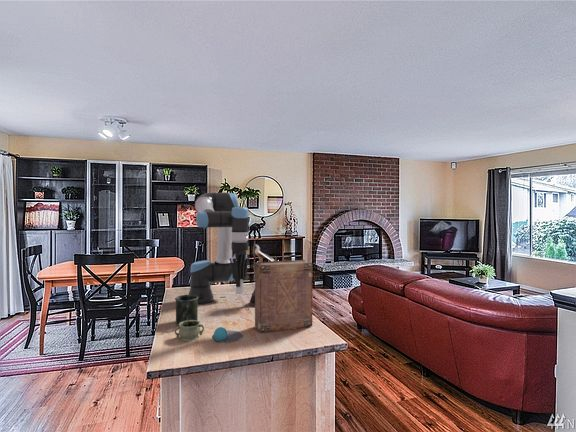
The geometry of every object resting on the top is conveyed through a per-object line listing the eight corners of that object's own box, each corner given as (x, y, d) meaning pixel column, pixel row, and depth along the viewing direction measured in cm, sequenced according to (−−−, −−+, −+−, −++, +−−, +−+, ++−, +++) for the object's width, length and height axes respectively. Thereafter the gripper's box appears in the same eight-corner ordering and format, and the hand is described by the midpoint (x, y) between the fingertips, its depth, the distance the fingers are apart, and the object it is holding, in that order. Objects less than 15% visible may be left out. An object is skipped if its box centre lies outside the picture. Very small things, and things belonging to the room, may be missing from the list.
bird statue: (275, 299, 205) (276, 242, 205) (279, 305, 193) (279, 244, 192) (248, 301, 202) (248, 242, 202) (249, 307, 190) (250, 244, 189)
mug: (199, 318, 170) (199, 294, 170) (197, 327, 155) (197, 301, 155) (176, 319, 168) (176, 295, 167) (172, 329, 153) (172, 302, 153)
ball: (215, 341, 142) (209, 336, 138) (220, 329, 145) (215, 323, 141) (225, 344, 140) (220, 339, 136) (231, 331, 143) (226, 326, 139)
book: (304, 320, 167) (304, 259, 167) (312, 326, 159) (313, 262, 158) (254, 326, 158) (255, 262, 158) (260, 333, 149) (260, 265, 149)
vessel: (203, 332, 150) (203, 318, 150) (205, 340, 141) (205, 325, 141) (174, 335, 146) (174, 321, 146) (174, 343, 137) (174, 328, 137)
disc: (205, 338, 142) (205, 338, 142) (224, 329, 154) (224, 328, 154) (231, 344, 137) (231, 343, 137) (248, 333, 148) (248, 333, 148)
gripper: (238, 243, 145) (238, 297, 146) (254, 240, 157) (254, 291, 158) (224, 242, 149) (224, 295, 149) (240, 240, 160) (240, 289, 161)
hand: (239, 293), depth 153 cm, fingers closed
